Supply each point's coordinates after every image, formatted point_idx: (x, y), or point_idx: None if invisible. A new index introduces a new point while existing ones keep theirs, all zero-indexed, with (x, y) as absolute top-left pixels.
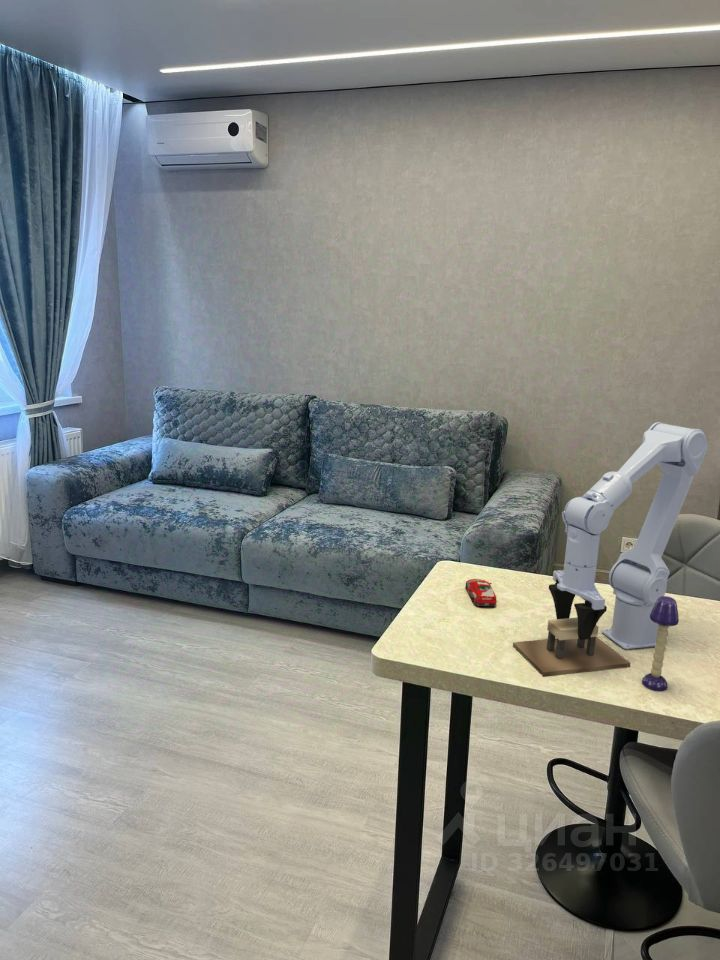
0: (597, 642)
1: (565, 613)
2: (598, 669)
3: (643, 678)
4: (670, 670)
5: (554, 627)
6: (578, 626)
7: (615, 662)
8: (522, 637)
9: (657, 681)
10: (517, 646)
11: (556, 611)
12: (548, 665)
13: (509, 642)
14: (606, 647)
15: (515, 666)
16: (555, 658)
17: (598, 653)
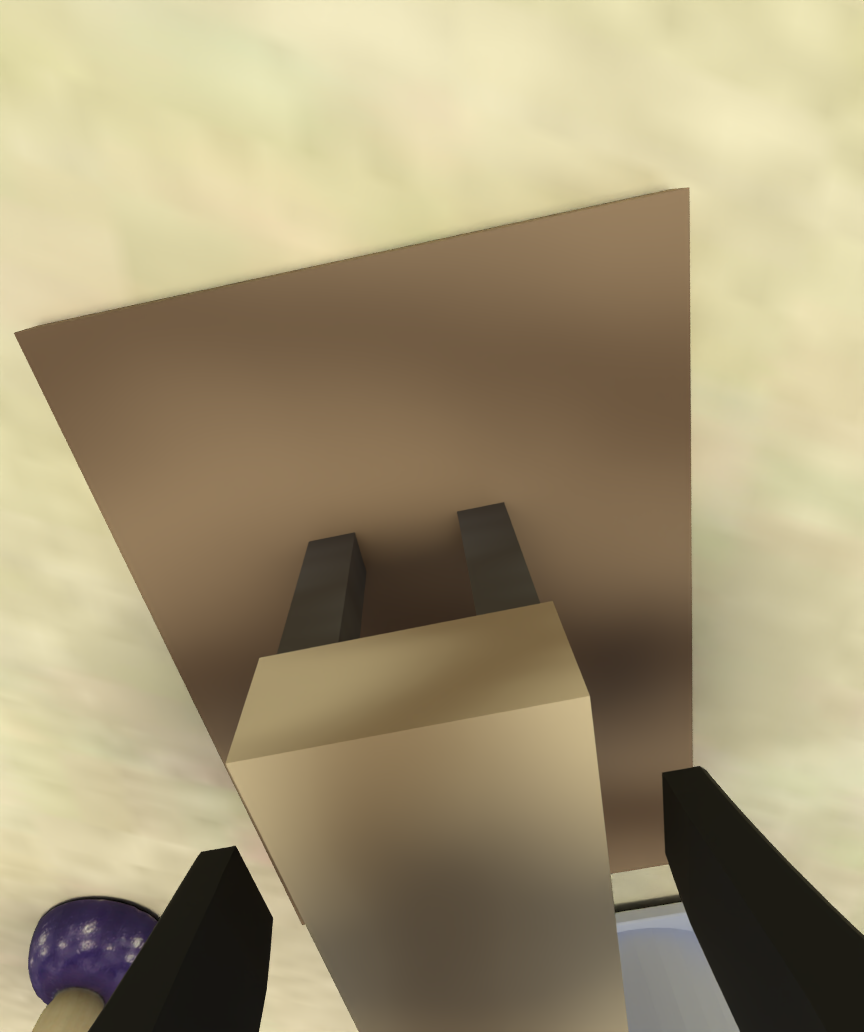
0: None
1: (712, 930)
2: None
3: (104, 931)
4: (287, 1020)
5: (401, 705)
6: (143, 1016)
7: None
8: (827, 360)
9: (34, 985)
10: (583, 211)
11: (763, 874)
12: (174, 423)
13: (760, 177)
14: None
15: (205, 67)
16: (326, 525)
17: None
